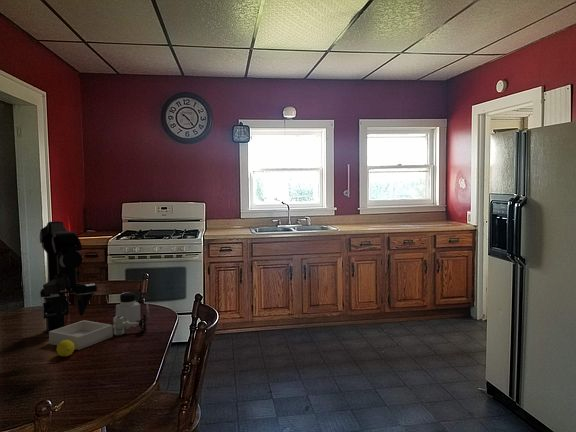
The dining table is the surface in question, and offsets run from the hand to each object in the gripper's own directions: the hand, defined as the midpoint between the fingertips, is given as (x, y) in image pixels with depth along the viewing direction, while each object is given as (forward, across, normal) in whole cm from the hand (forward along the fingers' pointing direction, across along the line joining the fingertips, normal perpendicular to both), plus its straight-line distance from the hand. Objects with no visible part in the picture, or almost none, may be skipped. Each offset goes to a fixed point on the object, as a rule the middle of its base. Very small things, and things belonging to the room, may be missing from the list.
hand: (70, 316), depth 146 cm
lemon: (+13, -3, 0) cm, 13 cm away
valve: (+11, +3, +26) cm, 28 cm away
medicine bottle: (+9, -7, +39) cm, 40 cm away
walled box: (+11, -9, +14) cm, 19 cm away
